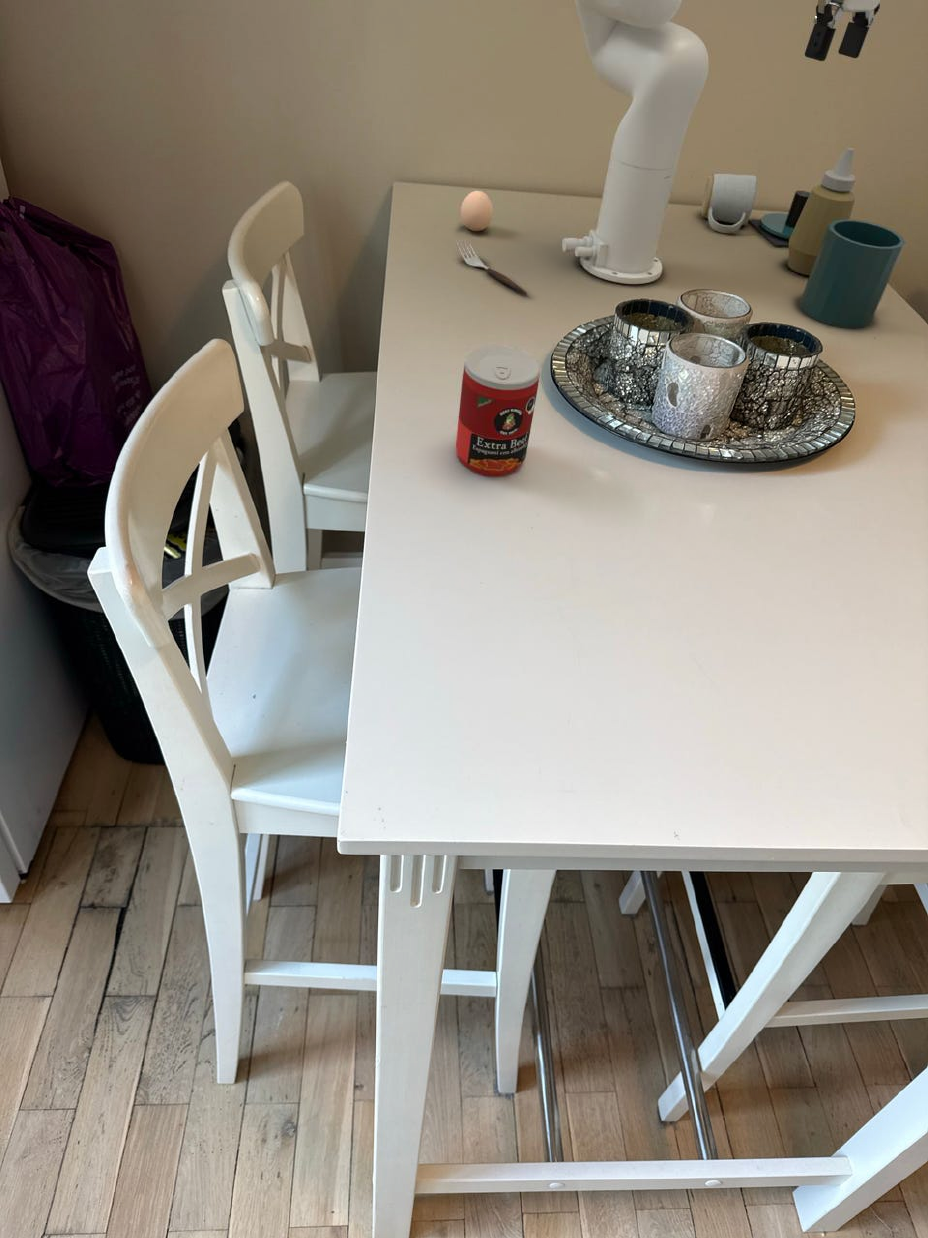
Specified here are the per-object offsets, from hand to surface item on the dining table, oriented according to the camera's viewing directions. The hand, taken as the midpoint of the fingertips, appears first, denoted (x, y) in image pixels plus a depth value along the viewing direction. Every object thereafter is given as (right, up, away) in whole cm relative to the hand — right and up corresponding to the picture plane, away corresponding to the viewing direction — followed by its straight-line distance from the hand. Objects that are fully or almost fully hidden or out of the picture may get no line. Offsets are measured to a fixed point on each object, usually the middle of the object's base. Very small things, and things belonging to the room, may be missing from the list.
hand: (831, 57), depth 129 cm
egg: (-52, -20, +12) cm, 57 cm away
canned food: (-51, -65, -34) cm, 90 cm away
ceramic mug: (-8, -13, +25) cm, 30 cm away
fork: (-50, -32, 0) cm, 59 cm away
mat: (+3, -16, +24) cm, 29 cm away
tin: (+1, -37, +2) cm, 37 cm away
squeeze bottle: (+1, -26, +13) cm, 29 cm away
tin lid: (+3, -15, +23) cm, 28 cm away
